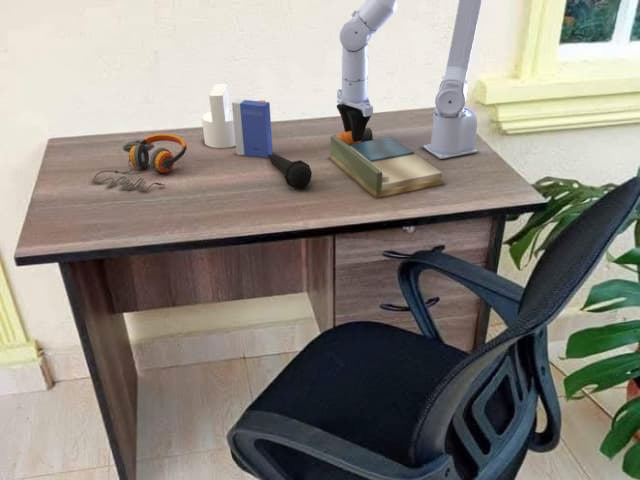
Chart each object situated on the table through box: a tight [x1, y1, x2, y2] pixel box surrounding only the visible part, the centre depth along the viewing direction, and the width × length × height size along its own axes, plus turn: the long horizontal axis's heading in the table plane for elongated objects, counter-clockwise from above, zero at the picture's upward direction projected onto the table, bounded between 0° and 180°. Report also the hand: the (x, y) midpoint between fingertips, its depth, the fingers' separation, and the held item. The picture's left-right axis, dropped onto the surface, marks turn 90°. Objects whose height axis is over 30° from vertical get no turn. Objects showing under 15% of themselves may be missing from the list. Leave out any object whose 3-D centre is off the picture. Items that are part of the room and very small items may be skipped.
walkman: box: [231, 98, 274, 159], centre depth 146 cm, size 8×3×12 cm, turn 71°
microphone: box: [268, 153, 313, 190], centre depth 139 cm, size 6×6×20 cm
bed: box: [330, 135, 444, 199], centre depth 139 cm, size 15×22×5 cm
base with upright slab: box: [201, 83, 236, 149], centre depth 153 cm, size 9×9×12 cm
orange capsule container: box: [336, 127, 374, 146], centre depth 153 cm, size 9×3×3 cm, turn 113°
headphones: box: [93, 133, 188, 192], centre depth 140 cm, size 17×5×20 cm
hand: (353, 137), depth 153 cm, fingers open, 3 cm apart
